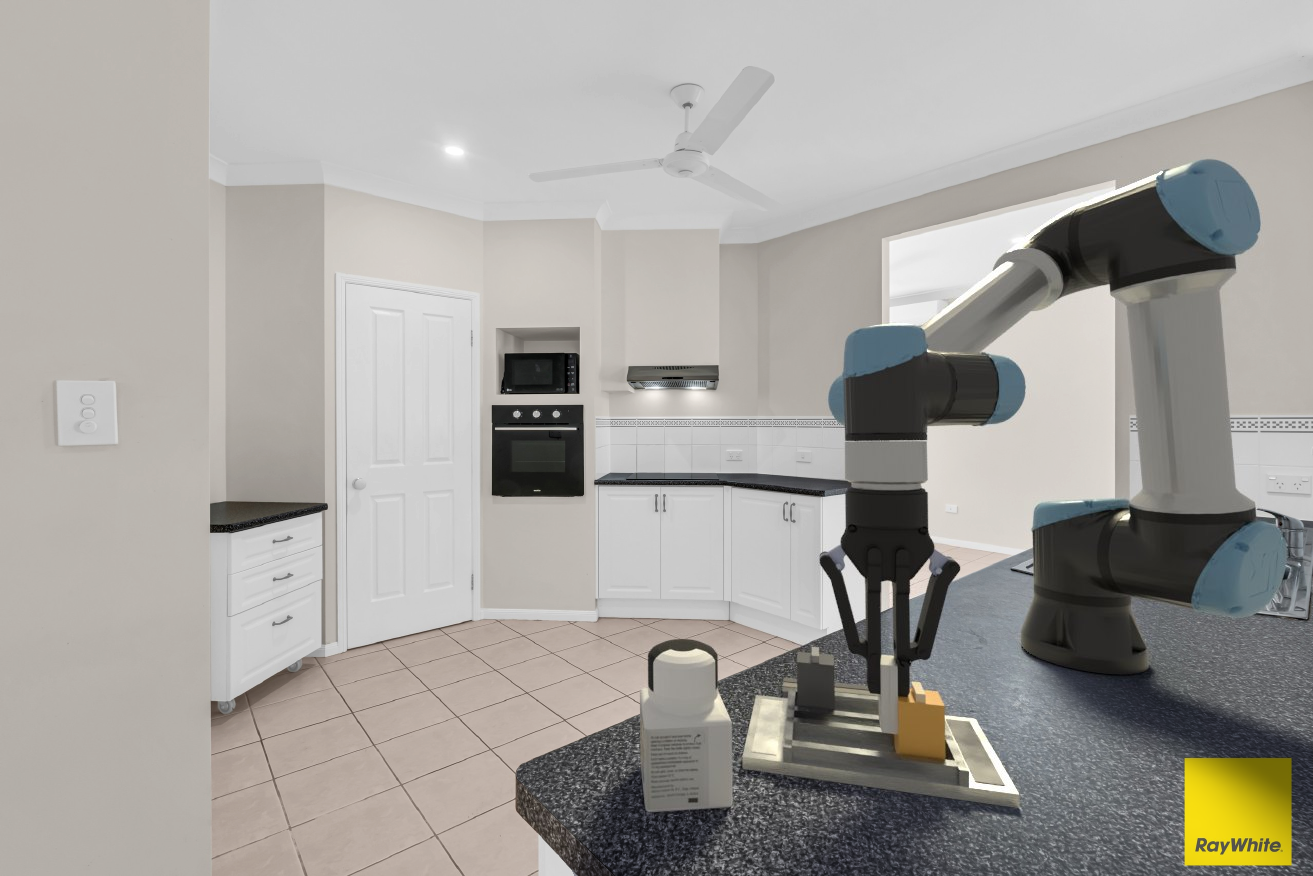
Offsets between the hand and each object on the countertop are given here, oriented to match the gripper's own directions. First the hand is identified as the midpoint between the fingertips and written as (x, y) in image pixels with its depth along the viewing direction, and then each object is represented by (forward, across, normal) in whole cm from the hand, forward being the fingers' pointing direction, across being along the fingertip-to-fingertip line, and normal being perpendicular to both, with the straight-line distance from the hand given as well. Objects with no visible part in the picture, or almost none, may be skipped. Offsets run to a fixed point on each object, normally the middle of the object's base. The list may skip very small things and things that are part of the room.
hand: (888, 726), depth 56 cm
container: (+4, +19, +8) cm, 21 cm away
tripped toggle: (+3, -3, 0) cm, 4 cm away
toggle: (+3, +7, -7) cm, 10 cm away
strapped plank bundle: (+4, +2, -14) cm, 15 cm away
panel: (+4, +2, -3) cm, 6 cm away
